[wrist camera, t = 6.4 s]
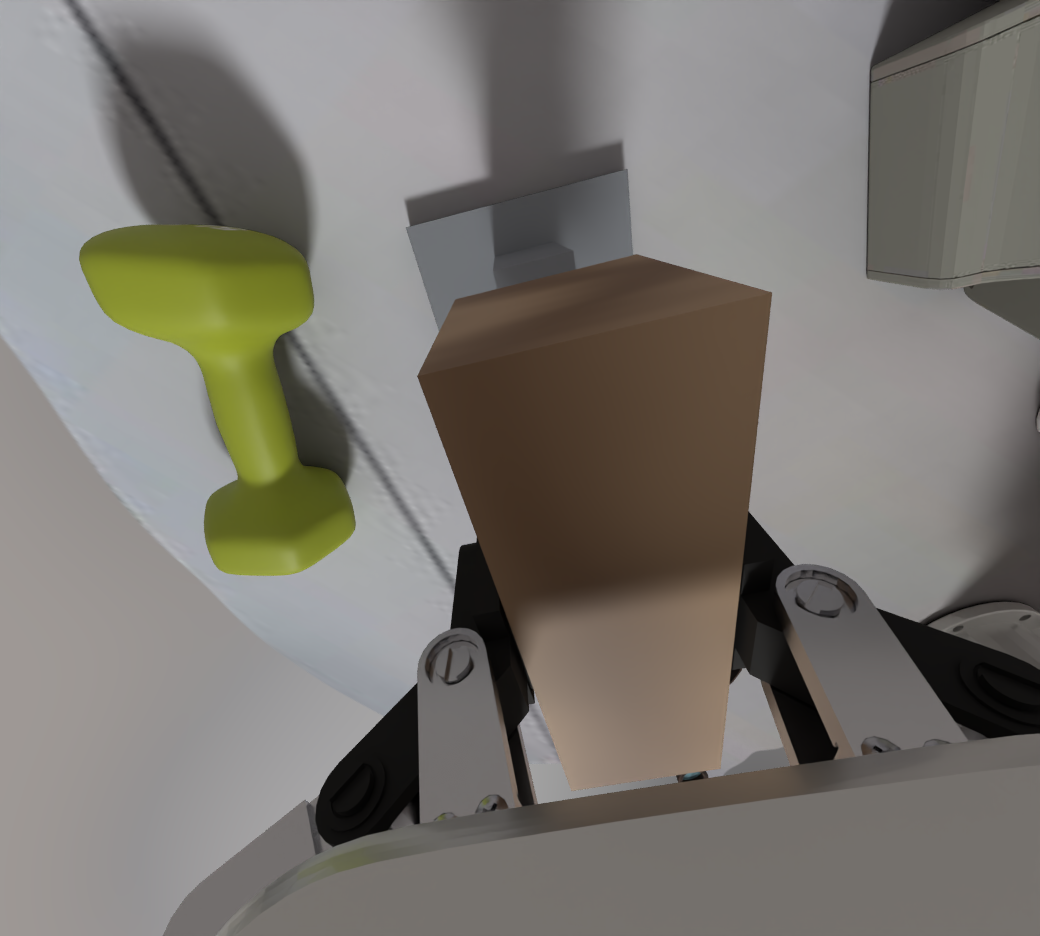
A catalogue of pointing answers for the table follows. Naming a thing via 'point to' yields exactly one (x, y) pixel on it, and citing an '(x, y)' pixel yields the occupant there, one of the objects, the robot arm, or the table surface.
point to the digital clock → (961, 163)
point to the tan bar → (611, 495)
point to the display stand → (523, 239)
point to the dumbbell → (232, 377)
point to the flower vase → (1038, 421)
